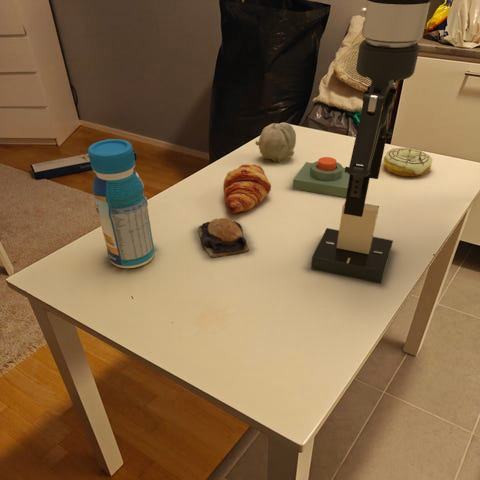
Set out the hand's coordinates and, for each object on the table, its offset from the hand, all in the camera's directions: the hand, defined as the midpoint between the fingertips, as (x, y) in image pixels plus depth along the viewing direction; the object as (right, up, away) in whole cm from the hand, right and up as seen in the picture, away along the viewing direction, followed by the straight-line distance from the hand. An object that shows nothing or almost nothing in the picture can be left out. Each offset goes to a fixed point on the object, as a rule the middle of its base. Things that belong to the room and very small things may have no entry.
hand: (361, 194), depth 73 cm
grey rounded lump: (-11, +20, +42) cm, 47 cm away
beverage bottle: (-39, -9, +10) cm, 41 cm away
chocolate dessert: (-23, -5, +14) cm, 27 cm away
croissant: (-18, +7, +27) cm, 33 cm away
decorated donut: (+20, +16, +36) cm, 44 cm away
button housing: (0, +11, +31) cm, 33 cm away
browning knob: (0, -7, +7) cm, 10 cm away
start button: (0, +14, +29) cm, 32 cm away
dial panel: (0, -9, +8) cm, 13 cm away
